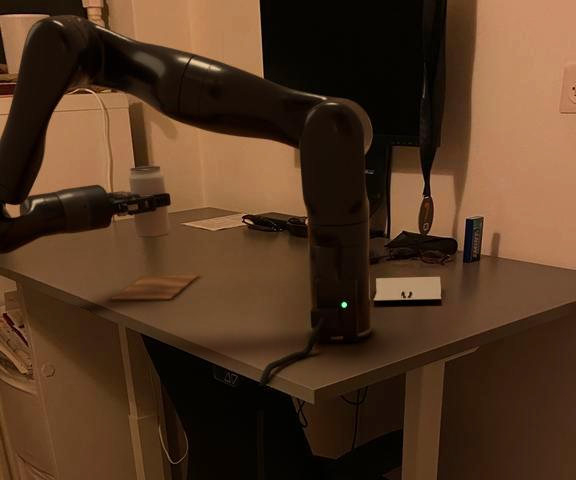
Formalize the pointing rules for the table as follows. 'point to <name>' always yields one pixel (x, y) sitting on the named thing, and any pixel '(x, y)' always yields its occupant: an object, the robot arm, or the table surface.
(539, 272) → the table surface
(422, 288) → the folded paper
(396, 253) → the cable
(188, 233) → the table surface
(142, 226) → the can
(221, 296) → the table surface
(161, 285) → the placemat
